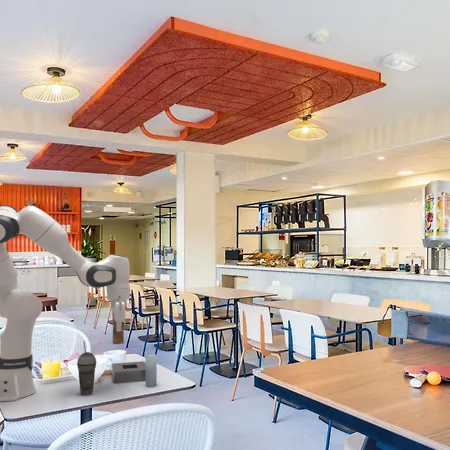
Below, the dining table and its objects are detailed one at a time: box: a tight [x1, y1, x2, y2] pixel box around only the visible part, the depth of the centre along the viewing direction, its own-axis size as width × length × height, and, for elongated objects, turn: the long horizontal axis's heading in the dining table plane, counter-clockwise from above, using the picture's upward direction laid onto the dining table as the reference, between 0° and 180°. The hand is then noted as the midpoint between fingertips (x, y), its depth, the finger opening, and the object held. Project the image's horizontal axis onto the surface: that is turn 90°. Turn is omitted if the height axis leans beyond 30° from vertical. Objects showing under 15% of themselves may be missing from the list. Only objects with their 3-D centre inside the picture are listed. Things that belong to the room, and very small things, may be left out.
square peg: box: [112, 312, 125, 345], centre depth 192 cm, size 4×4×12 cm
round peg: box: [144, 353, 158, 388], centre depth 194 cm, size 4×4×12 cm
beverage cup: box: [76, 340, 97, 396], centre depth 184 cm, size 7×7×20 cm
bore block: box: [111, 360, 146, 384], centre depth 205 cm, size 14×14×4 cm
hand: (118, 329), depth 191 cm, fingers closed on square peg, 4 cm apart
